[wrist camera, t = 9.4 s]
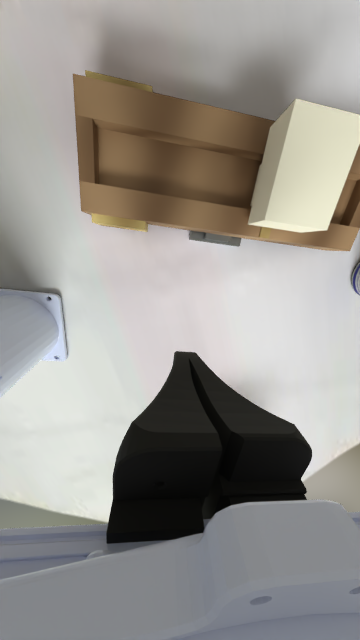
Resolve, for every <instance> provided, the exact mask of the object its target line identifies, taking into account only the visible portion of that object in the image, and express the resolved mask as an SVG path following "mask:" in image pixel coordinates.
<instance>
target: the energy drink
mask: <svg viewBox="0 0 360 640" xmlns="http://www.w3.org/2000/svg"><path fill="white" fill-rule="evenodd" d="M352 286H353V289H354V291H355V292H356V293H357V294H358V295H360V262H359V263H358V265H357V266H356V268H355V269H354V272H353V275H352Z"/></svg>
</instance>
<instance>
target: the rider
mask: <svg viewBox="0 0 360 640" xmlns="http://www.w3.org/2000/svg"><path fill="white" fill-rule="evenodd" d="M359 144H360V115H359V114H355V113H351V112H347V111H343V110H339V109H335V108H331V107H327V106H323V105H319V104H315V103H311V102H308V101H304V100H300V99H295V100H294V101H293V102H292V104H291V105H290V106H289V107H288V108H287V109H286V110H285V111H284V112H283V114H282V115H281V116H280V117H279V118H278V119H277V120H276V121H275V122H274V124H273V125H272V126H271V127H270V130H269V134H268V139H267V143H266V147H265V152H264V156H263V160H262V164H261V165H260V166H259V170H258V175H257V179H256V184H255V188H254V192H253V197H252V201H251V205H250V206H252V208H251V212H250V216H249V221H248V224H249V225H255V226H262V227H268V228H274V229H281V230H287V231H293V232H300V233H303V232H313V231H324V230H327V229H328V226H329V224H330V221H331V218H332V216H333V213H334V210H335V208H336V205H337V202H338V200H339V197H340V194H341V192H342V189H343V187H344V184H345V181H346V179H347V176H348V173H349V171H350V168H351V165H352V163H353V160H354V157H355V155H356V152H357V149H358V147H359Z"/></svg>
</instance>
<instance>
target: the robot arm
mask: <svg viewBox="0 0 360 640" xmlns="http://www.w3.org/2000/svg"><path fill="white" fill-rule="evenodd" d="M48 296H49V297H51V300H49V299H48ZM57 356H59V358H58V357H57ZM67 357H68V356H67V347H66V339H65V330H64V321H63V312H62V304H61V297H60V296H59V295H58V294H53V293H42V292H32V291H21V290H11V289H0V398H1V397H2V396H3V395H4V394H5V393H6V392H7V391H8V390H9V389H10V388H11V387H13V386H14V385H15V384H16V383H17V382H18V381H19V380H20V379H21V378H22V377H23V376H24V375H25V374H26V373H28V372H29V371H30V370H31V369H32V368H33V367H34V366H35V365H36V364H37V363H38V362H39V361H40V360H48V361H65V360H66V359H67ZM311 458H312V450H311V447H310V445H309V444H308V443H307V441H306V440H305V438H304V437H303V436H302V434H301V433H300V432H299V430H298V429H297V428H296V426H295V425H294V424H292V423H290V422H288V421H286V420H284V419H282V418H279V417H277V416H275V415H273V414H271V413H269V412H267V411H266V410H264V409H262V408H260V407H258V406H257V405H255V404H253V403H252V402H250V401H249V400H247V399H246V398H244V397H243V396H241V395H240V394H238V393H237V392H236V391H234V390H233V389H232V388H230V387H229V386H228V385H227V384H225V383H224V382H223V381H222V380H221V379H220V378H219V377H218V376H217V375H216V374H215V373H214V372H213V371H212V370H211V369H210V368H209V367H208V366H207V365H206V364H205V363H204V362H203V361H202V360H201V358H200V357H199V356H198V355H197V354H196V353H194V352H179V351H176V352H175V354H174V361H173V367H172V369H171V372H170V374H169V376H168V378H167V380H166V382H165V384H164V386H163V387H162V389H161V390H160V392H159V393H158V395H157V396H156V397H155V399H154V400H153V401H152V402H151V403H150V405H149V406H148V407H147V408H146V409H145V410H144V411H143V412H142V413H141V414H140V415H139V416H138V417H137V418H136V419H135V420H134V421H133V422H132V423H131V425H130V427H129V429H128V431H127V433H126V435H125V437H124V439H123V441H122V443H121V446H120V448H119V451H118V454H117V458H116V462H115V467H114V472H113V502H112V507H111V512H110V517H109V522H108V524H94V525H74V526H52V527H31V528H12V529H11V528H10V529H0V640H360V512H347V511H346V510H345V508H344V507H343V506H342V505H341V504H339V503H337V502H335V501H329V500H307V499H306V497H305V495H304V494H305V493H306V492H307V491H306V488H305V486H304V484H303V483H302V481H301V477H302V476H303V474H304V472H305V470H306V469H307V467H308V465H309V463H310V461H311Z"/></svg>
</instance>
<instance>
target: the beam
mask: <svg viewBox="0 0 360 640" xmlns="http://www.w3.org/2000/svg"><path fill="white" fill-rule="evenodd" d="M85 74H86V77H85V76H81V75H77V74H73V84H74V101H75V117H76V133H77V149H78V166H79V182H80V198H81V211H83V212H85V213H87V214H90V215H92V222H93V223H96V224H99V225H102V226H109V227H116V228H123V229H130V230H137V231H144V232H148V224H151V225H158V226H164V227H171V228H178V229H185V230H191V231H198V232H205V233H212V234H219V235H225V236H232V237H239V238H246V239H253V240H259V241H266V242H273V243H280V244H287V245H293V246H300V247H307V248H314V249H321V250H332V251H350V249H351V247H352V245H353V243H354V240H355V238H356V236H357V233H358V231H359V229H360V144H359V147H358V149H357V152H356V155H355V157H354V160H353V163H352V165H351V168H350V171H349V173H348V176H347V179H346V181H345V184H344V187H343V189H342V192H341V194H340V197H339V200H338V202H337V205H336V208H335V210H334V213H333V216H332V218H331V221H330V224H329V226H328V229H327V230H324V231H313V232H303V233H300V232H293V231H287V230H281V229H274V228H268V227H262V226H255V225H249V224H248V221H249V216H250V212H251V208H252V206H250V205H251V201H252V197H253V192H254V188H255V184H256V179H257V175H258V170H259V166H260V165H261V164H262V160H263V156H264V152H265V147H266V143H267V139H268V134H269V130H270V127H271V126H272V125H273V124H274V122H275V121H273V120H269V119H264V118H260V117H256V116H252V115H247V114H243V113H239V112H235V111H230V110H226V109H222V108H217V107H213V106H209V105H205V104H200V103H196V102H192V101H188V100H183V99H179V98H175V97H170V96H166V95H162V94H158V93H153V90H152V86H149V85H145V84H141V83H137V82H132V81H128V80H124V79H120V78H116V77H112V76H107V75H103V74H99V73H95V72H91V71H86V70H85Z"/></svg>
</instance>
